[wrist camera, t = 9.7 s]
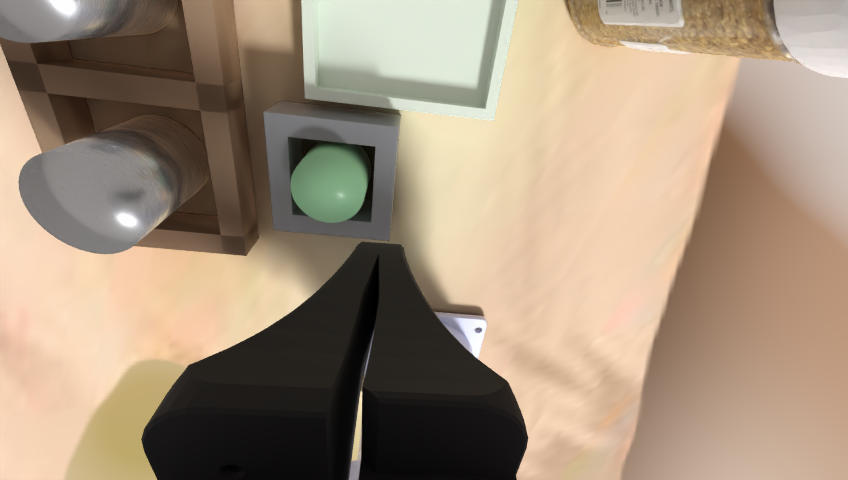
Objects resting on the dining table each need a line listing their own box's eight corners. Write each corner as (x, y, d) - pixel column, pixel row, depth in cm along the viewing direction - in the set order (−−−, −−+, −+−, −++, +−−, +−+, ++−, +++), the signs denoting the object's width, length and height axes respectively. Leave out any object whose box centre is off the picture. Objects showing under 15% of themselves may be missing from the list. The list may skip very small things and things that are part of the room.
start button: (369, 200, 22) (363, 226, 19) (307, 194, 21) (292, 219, 19) (372, 140, 20) (366, 159, 17) (305, 132, 20) (288, 150, 17)
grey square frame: (391, 219, 23) (389, 240, 21) (287, 209, 22) (273, 230, 20) (400, 114, 20) (398, 127, 18) (280, 100, 19) (263, 111, 17)
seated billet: (217, 199, 22) (157, 256, 17) (134, 193, 22) (46, 251, 16) (200, 118, 20) (125, 155, 14) (107, 111, 19) (-4, 147, 14)
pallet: (258, 237, 23) (246, 255, 21) (102, 223, 23) (76, 240, 21) (218, -134, 15) (191, -154, 13) (-33, -174, 14) (-94, -200, 13)
